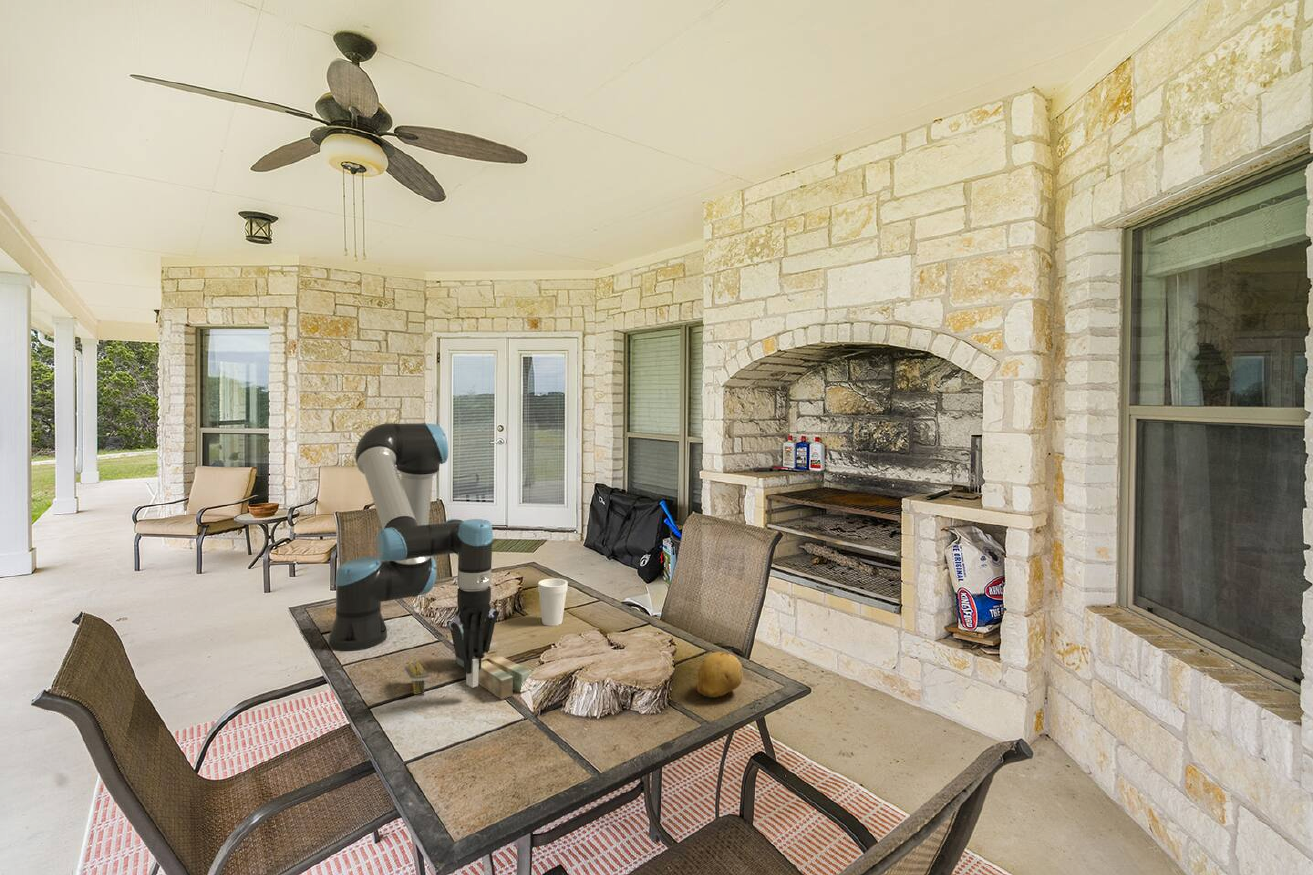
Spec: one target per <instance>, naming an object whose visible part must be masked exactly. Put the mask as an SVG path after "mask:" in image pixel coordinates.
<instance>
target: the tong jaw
mask: <svg viewBox="0 0 1313 875" xmlns="http://www.w3.org/2000/svg"><path fill="white" fill-rule="evenodd" d="M487 653H488V652H487ZM487 653H486V652H485V653H484V654H483V655H485V656H484V658H482V659H481V669H480V670H479V671H478V685H480V686H482V687H483V688H484V689H485V690H487V691H488V692H490V693H492V694H493V695H494V696H496V697H497V698H499V699H500V700H504V699H506V698H510V697H512V696H513V693H514V692H513V690H514V689H513V677H512V676H511V675H509V674H508V673H506V672H505V671H503V670H501V669H499V668H498V667H496V666H495V665H493V664H491V663H490V662H488V661H487V660H485V659H488V658H490V655H491V654H489V653H488V654H487ZM473 656H474V654H473Z"/></svg>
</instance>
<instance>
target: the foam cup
mask: <svg viewBox="0 0 1313 875" xmlns="http://www.w3.org/2000/svg"><path fill="white" fill-rule="evenodd" d="M568 585H569V581H568V580H566V579H562V578H545V579H541V580H539V581H538V583H537V586H538V588H537V591H538V595H539V605H540V614H541V622H542V624H543V625H544V626H548V627H553V626H555V625H556V626H560V625H562V623H563V618H564V612H565V607H566V606H565V605H566V599H567V592H568V590H569V588H568V587H569V586H568ZM559 624H560V625H559Z"/></svg>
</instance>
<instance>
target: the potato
mask: <svg viewBox="0 0 1313 875" xmlns="http://www.w3.org/2000/svg"><path fill="white" fill-rule="evenodd" d="M697 671H698V672H697V679H698V680H697V683H696V688H697V689H696V690H697V692H698V693H700V694H701V695H702V694H703V695H705V696H704V697H706V696H708V697H707V698H712V697H713V698H715V697H716V698H719V697H718V696H720V697H722V696H724V695H726V694H728V693H730V692H732V691H734V690H737V689H738V688H739V686H741V684H742V682H743V677H744V676H743V675H744V674H743V673H744V672H743V665H742V663H741V661H740V659H739V658H738V657H736V656H735V655H732V654H730V653H727V652H724V651H719V650H717V651H716V652H711V653H710V654H708V655H707V656H706V657H705V658H704V659H703V660H702V662H701V664H700V666H699V668H698V670H697ZM703 695H702V696H703Z"/></svg>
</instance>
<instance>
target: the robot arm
mask: <svg viewBox="0 0 1313 875" xmlns="http://www.w3.org/2000/svg"><path fill="white" fill-rule="evenodd" d="M354 456H355V463H356V466H357V468H358V470H359V472H360V473H362V474H363V475H364V476H365V479H366V482H367V485H368V488H369V491H370V495H371V498H372V501H373V503H374V507H375V509H376V510H375V511H376V513H377V516H378V518H379V522H380V524H381V528H382V529H380V530H379V531H378V533H377V537H376V547H377V554H378V556H363V557H358V558H354V559H352V560H349V561H347V562H344V563H342V564H341V565H339V567H338V568H337V571H336V576H335V603H336V604H335V618H334V622H333V624H332V627H331V630H330V633H329V635H328V646H329V647H331V648H332V649H334V650H338V651H356V650H357V651H358V650H365V649H369V648H372V647H375V646H378V645H380V644H382V643H383V642H385V641H386V640H387V639H388V638H387V637H388V629H387V625H386V623H385V620H384V618H383V614H382V611H381V608H382V607H381V604H382V603H383V602H387V601H393V600H394V601H396V600H402V599H405V598H406V599H407V598H417V597H419V596H422V595H424V596H425V595H426V594H429V593H430V592H431V591H432V590H433V588H434V586H435V584H436V579H437V562H436V560H435V558H434V557H435V556H443V555H451V554H455V555H457V559H458V560H457V562H458V563H457V587H458V588H457V598H456V599H457V600H456V601H457V602H456V603H457V611H456V613H455V617H454V618H453V619H452V620H447V621H446V626H447V627H448V628H449V630H450V634H451V639H452V644H453V648H454V654H455V653H456V657H457V658H459V659H461V660H463V661H464V667H463V672H464V673H466V675H465V677H466V678H465V680H466V681H465V685H467V686H469V687H471V688H472V689H473V688H475V687H478V686H479V683H478V671H479V670H480V669H481V659H482V658H484V656H485V655H483V654H484V653H485V652H486V653H489V651H490V648H491V644H492V638H493V634H494V630H495V626H496V621H497V619H498V617H499V616H500V611H499V610H496V609H495V608H492V606H491V599H492V588H491V585H492V561H493V560H492V558H493V556H492V555H493V540H494V533H493V523H491V522H490V521H489V520H486V519H479V518H477V519H476V518H471V519H465V520H462V519H459V518H450V519H448V520H445V521H443V523H441V522H440V523H431V524H429V520H430V512H431V511H430V510H431V501H432V500H431V499H432V490H433V489H432V488H433V479H434V476H435V475H436V474H437V473H439V471H440V465H443V464H446V462H447V461H448V458H449V445H448V440H447V437H446V433H445V431H444V429H443V427H442V426H440V425H439V424H436V423H435V424H434V423H426V422H423V423H422V422H421V423H420V422H418V423H393V422H390V423H389V422H386V423H381V424H377V425H376V426H373V427H371V428H370V429H368V430H367V431H366V432H365V433H364V434H363V435H362V437H361V438H360V439H359V441H358V443H357V446H356V447H355V453H354ZM399 474H400V475H401V476H399ZM460 625H462V628H463V638H462V633H461V630H460V628H459V627H460ZM473 654H474V656H473Z"/></svg>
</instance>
